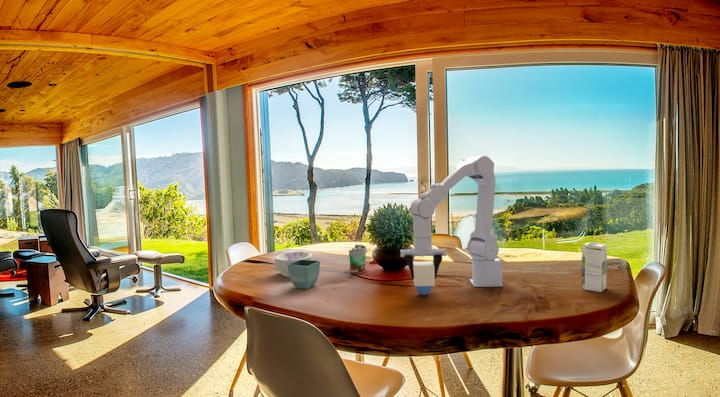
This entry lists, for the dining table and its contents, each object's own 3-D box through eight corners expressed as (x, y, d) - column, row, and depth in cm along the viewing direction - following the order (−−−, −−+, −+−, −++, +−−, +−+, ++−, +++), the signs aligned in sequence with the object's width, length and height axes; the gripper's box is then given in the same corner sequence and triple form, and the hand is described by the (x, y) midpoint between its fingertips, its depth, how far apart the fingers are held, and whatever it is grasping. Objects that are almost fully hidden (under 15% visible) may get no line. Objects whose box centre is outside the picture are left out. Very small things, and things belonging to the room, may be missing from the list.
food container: (365, 275, 149) (363, 250, 148) (349, 275, 150) (348, 250, 149) (370, 267, 161) (369, 244, 160) (356, 267, 162) (355, 244, 161)
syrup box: (586, 285, 125) (586, 241, 124) (607, 288, 120) (607, 243, 120) (581, 289, 121) (581, 244, 120) (602, 292, 116) (602, 246, 116)
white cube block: (433, 280, 125) (432, 261, 125) (434, 286, 119) (434, 265, 118) (413, 280, 126) (413, 261, 126) (414, 286, 120) (413, 266, 119)
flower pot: (322, 284, 139) (320, 260, 138) (309, 291, 131) (307, 266, 130) (301, 282, 142) (300, 259, 142) (288, 289, 134) (286, 264, 134)
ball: (432, 292, 118) (431, 297, 122) (431, 277, 121) (430, 282, 125) (416, 292, 119) (416, 297, 123) (415, 277, 121) (415, 282, 125)
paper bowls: (276, 281, 146) (274, 260, 146) (275, 271, 161) (274, 253, 160) (315, 277, 150) (314, 257, 149) (311, 268, 164) (310, 250, 164)
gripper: (400, 239, 118) (401, 281, 119) (447, 238, 117) (448, 281, 117) (399, 235, 125) (401, 275, 126) (444, 234, 124) (445, 275, 124)
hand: (423, 278), depth 122 cm, fingers closed on white cube block, 6 cm apart
